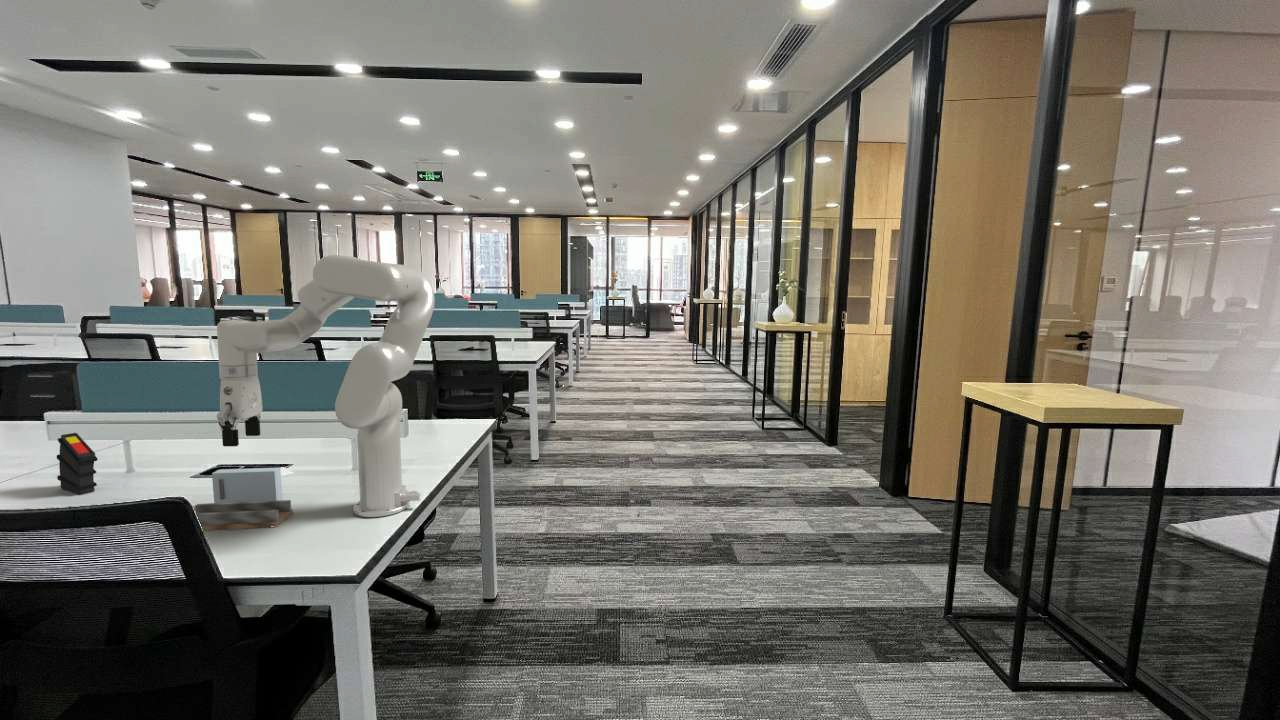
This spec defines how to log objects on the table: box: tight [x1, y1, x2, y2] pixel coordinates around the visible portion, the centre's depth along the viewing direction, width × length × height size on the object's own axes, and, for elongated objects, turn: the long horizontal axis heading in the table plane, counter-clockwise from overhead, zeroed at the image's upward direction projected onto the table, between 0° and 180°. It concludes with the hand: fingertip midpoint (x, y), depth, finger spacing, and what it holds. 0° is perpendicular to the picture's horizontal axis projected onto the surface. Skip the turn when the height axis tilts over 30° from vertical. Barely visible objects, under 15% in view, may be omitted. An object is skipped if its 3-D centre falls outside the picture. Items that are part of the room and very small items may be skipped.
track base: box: [194, 499, 294, 531], centre depth 128 cm, size 20×8×4 cm, turn 98°
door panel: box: [211, 467, 284, 503], centre depth 138 cm, size 14×3×9 cm, turn 98°
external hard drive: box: [280, 466, 295, 479], centre depth 159 cm, size 2×8×12 cm
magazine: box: [56, 432, 98, 495], centre depth 147 cm, size 4×13×15 cm, turn 65°
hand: (242, 440), depth 137 cm, fingers open, 9 cm apart
